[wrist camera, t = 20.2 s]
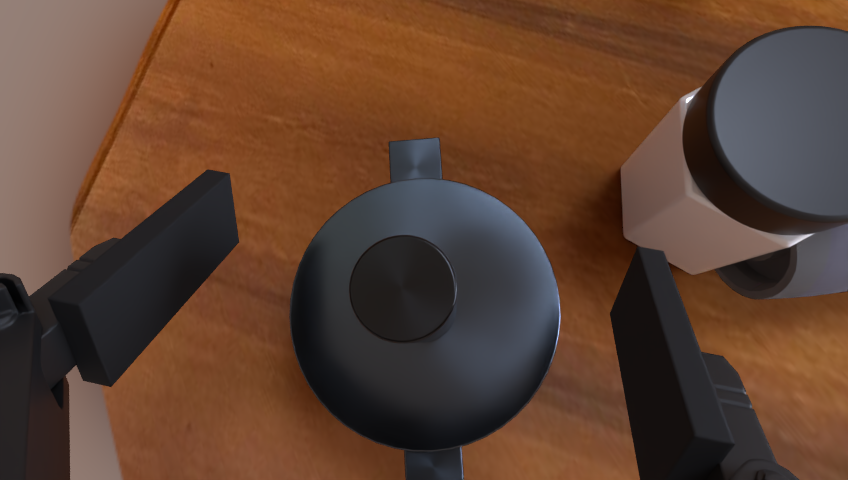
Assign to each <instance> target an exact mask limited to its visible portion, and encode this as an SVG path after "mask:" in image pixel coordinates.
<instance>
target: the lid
mask: <svg viewBox="0 0 848 480" xmlns="http://www.w3.org/2000/svg"><path fill="white" fill-rule="evenodd" d="M289 317H290V331H291V338H292V343H293V348H294V352H295V355H296V358H297V361H298V364H299V367H300V369H301V371H302V373H303V375H304V377H305V379H306V381H307V383H308V385H309V387H310V388H311V390H312V391H313V393H314V394H315V396H316V397H317V399H318V400H319V401H320V402H321V403H322V405H323V406H324V407H325V408H326V409H327V410H328V411H329V412H330V413H331V414H332V415H333V416H334V417H335V418H336V419H338V420H339V421H340V422H341V423H342V424H343V425H345V426H346V427H348V428H349V429H351V430H352V431H354V432H355V433H357V434H359V435H360V436H362V437H365V438H367V439H369V440H371V441H373V442H375V443H378V444H381V445H385V446H388V447H391V448H394V449H401V450H407V451H417V452H434V451H442V450H450V449H454V448H457V447H461V446H465V445H469V444H471V443H473V442H476V441H478V440H480V439H483V438H485V437H487V436H489V435H490V434H492V433H494V432H495V431H497V430H499V429H500V428H502V427H503V426H504V425H506V424H507V423H508V422H509V421H511V420H512V419H513V418H514V417H516V416H517V415H518V414H519V412H520V411H521V410H522V409H523V408H524V407H525V406H526V405H527V404H528V403H529V402H530V400H531V399H532V398H533V396H534V395H535V393H536V392H537V391H538V389H539V388H540V386H541V384H542V382H543V380H544V378H545V377H546V375H547V373H548V371H549V368H550V365H551V363H552V360H553V357H554V355H555V351H556V346H557V342H558V337H559V329H560V298H559V293H558V287H557V282H556V278H555V275H554V272H553V269H552V266H551V263H550V261H549V259H548V257H547V255H546V252H545V250H544V248H543V247H542V245H541V243H540V242H539V240H538V239H537V237H536V236H535V234H534V233H533V231H532V230H531V229H530V228H529V227H528V226H527V224H526V223H525V222H524V221H523V220H522V219H521V218H520V217H519V216H518V215H517V214H516V213H515V212H514V211H513V210H512V209H510V208H509V207H508V206H506V205H505V204H504V203H502V202H501V201H499V200H498V199H496V198H495V197H493V196H491V195H489V194H487V193H485V192H484V191H482V190H479V189H477V188H474V187H471V186H469V185H466V184H463V183H459V182H454V181H450V180H443V179H434V178H416V179H408V180H401V181H396V182H392V183H389V184H385V185H382V186H379V187H377V188H374V189H372V190H369V191H367V192H365V193H363V194H362V195H360V196H358V197H356V198H355V199H353V200H351V201H350V202H349V203H347V204H346V205H344V206H343V207H342V208H340V209H339V210H338V211H337V212H336V213H335V214H334V215H333V216H332V217H331V218H330V219H328V220H327V221H326V222H325V224H324V225H323V226H322V227H321V229H320V230H319V231H318V232H317V234H316V235H315V236H314V238H313V239H312V241H311V243H310V244H309V246H308V247H307V249H306V251H305V253H304V255H303V258H302V260H301V262H300V264H299V267H298V270H297V273H296V276H295V279H294V283H293V288H292V293H291V299H290V316H289Z"/></svg>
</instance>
